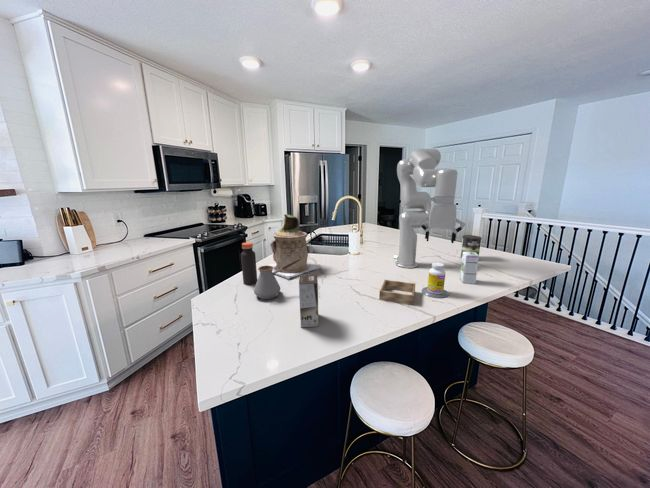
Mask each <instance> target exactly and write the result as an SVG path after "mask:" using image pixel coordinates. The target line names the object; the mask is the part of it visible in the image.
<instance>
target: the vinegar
mask: <svg viewBox="0 0 650 488" xmlns="http://www.w3.org/2000/svg"><path fill="white" fill-rule="evenodd" d="M253 246H254V245H253V242H250V241H247V242H242V243H241V249H242V252H241V253H240V262H241V269H242V271H241V272H242V281H243V284H245V285H246V286H248V285H249V286H251V285H256V283H257V280H258V274H257V273H258V268H257V259H256V252H255V251H254V250H253Z"/></svg>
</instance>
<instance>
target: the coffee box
mask: <svg viewBox="0 0 650 488" xmlns="http://www.w3.org/2000/svg"><path fill="white" fill-rule="evenodd" d="M298 286H299V287H298V288H299V291H298V292H299V294H298V295H299V313H300V316H299V317H300V327H301V328H310V327H311V328H312V327H313V328H314V327H316V328H317V327H318V326H319V283H318V276H317V274H316V273H312V274H311V273H310V274H309V273H307V274H306V273H305V274H301V275H299V278H298Z"/></svg>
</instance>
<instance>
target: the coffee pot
mask: <svg viewBox="0 0 650 488" xmlns="http://www.w3.org/2000/svg"><path fill="white" fill-rule="evenodd" d="M298 261H300V259H299V260H297V261H294V262H292V263H290V264H288V265H286V266H284V267H283V268H281V269H279V270H277V271H275V272H273V273H272V269H273V266H267V265H261V266H259V267H257V271H259V275H258V276H257V282H256V283H255V286H254V289H253V293H254V294H255V295H256V297H258V298H259V299H261V300H270V299H274V298H276V297H277V296H278V294H279V293H280V291H281V286H280V283H279V282H278V280H277V278H276V273H278V272H279V271H281V270H283V269H285V268H288V267H290V266H292V265H293V264H294V263H296V262H298ZM300 263H301V262H300Z"/></svg>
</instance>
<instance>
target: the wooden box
mask: <svg viewBox="0 0 650 488" xmlns="http://www.w3.org/2000/svg"><path fill="white" fill-rule="evenodd" d="M382 283H383V284H382V285H381V288H380V289H379V297H378V300H379V301H386V302H391V303H395V304H396V303H398V304H403V305H404V304H405V305H409V306H413V305H414V301H415V300H414V299H415V295H416V294H415V293H416V283H414V282H405V281H398V280H392V279H390V280H389V279H384V281H383V282H382ZM387 289H389V290H394V291H395V290H396V291H401V292H408V293H409V292H410V293H411V294H407V293H401V292H394V291H389V290H388V291H387Z"/></svg>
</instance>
